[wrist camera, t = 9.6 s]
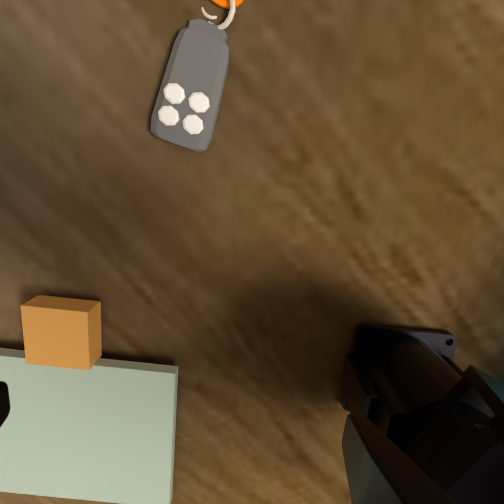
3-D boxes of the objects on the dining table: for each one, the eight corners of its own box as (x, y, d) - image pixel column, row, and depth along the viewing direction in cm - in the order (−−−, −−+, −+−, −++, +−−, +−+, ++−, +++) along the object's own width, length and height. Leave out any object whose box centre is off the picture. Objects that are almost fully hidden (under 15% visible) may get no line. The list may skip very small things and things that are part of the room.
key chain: (212, 157, 18) (208, 156, 17) (152, 136, 18) (143, 133, 17) (289, -103, 15) (292, -131, 14) (217, -133, 15) (213, -165, 14)
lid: (184, 305, 21) (175, 321, 19) (175, 484, 25) (167, 515, 23) (-34, 282, 21) (-69, 296, 18) (-8, 466, 25) (-34, 495, 22)
